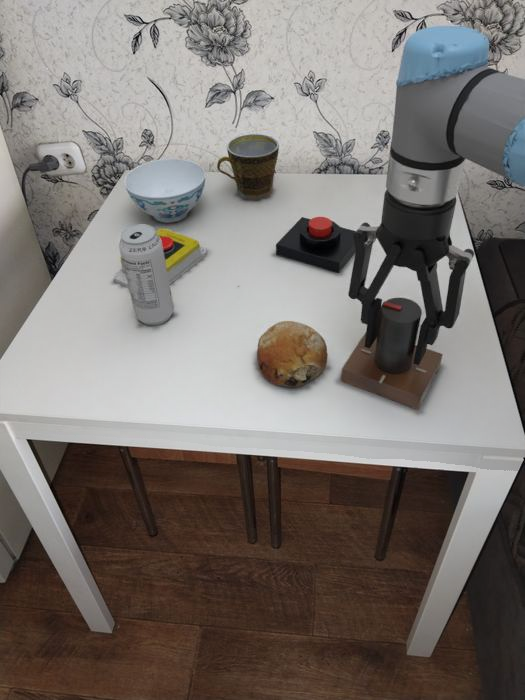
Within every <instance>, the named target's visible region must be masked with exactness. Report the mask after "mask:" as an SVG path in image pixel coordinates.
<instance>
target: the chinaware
mask: <svg viewBox="0 0 525 700" xmlns="http://www.w3.org/2000/svg"><path fill="white" fill-rule="evenodd" d="M123 184H124V187H125V189H126V193H128V196H129V198H130V199H131V201H132V202H133V203H134V204H135V206H137V208H139V209H140V210H141V211H143V212H144V213H145V214H147V215H150V216H151V217H153V219H155V221H159V222H161V223H176V222H179V221H181V220H183V219H185V218H186V217H187V216H188V213H189V212H190V211H191V210H192V209H193V208H194V207H195V206H196V205H197V204H198V202H199V201H200V199H201V197H202V195H203V192H204V190H205V189H204V188H205V184H206V171H205V168H204V167H202V165H201V164H198V163H197V162H195V161H192V160H189V159H183V158H160V159H154V160H151V161H147V162H144V163H142V164H139V165H138V166H135V167H134V168H132V169H131V170H130V171H128V173H127V174H126V175H125V177H124V180H123Z"/></svg>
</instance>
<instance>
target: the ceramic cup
mask: <svg viewBox="0 0 525 700" xmlns="http://www.w3.org/2000/svg"><path fill="white" fill-rule="evenodd" d="M226 151H227V156H223V157H220V158H219V159H218V161H217V164H216V168H217V170H218V172H219V173H221V174H222V175H225V176H227V177H229V178H230V179H232V180H234V181H235V184H236V185H235V186H236V189H237V194H238V195H239V196H240V197H241V198H242V199H243V200H247V201H261V200H264V199H266V198H269V197H270V196H271V193H272V190H273V186H274V178H275V172H276V165H277V162H278V157H279V151H280V143H279V141H278V140H277V139H276V138H274V137H273V136H270V135H267V134H261V133H260V134H259V133H252V134H244V135H240V136H236V137H234V138H232V139H231V140H229V142H228V143H227V144H226ZM223 162H228V163H229V164H230V167H231V170H232V173H233V175H231V174H230V173H229V172H226V171H224V170H222V169H221V164H222V163H223Z"/></svg>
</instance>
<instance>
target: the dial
mask: <svg viewBox="0 0 525 700" xmlns="http://www.w3.org/2000/svg"><path fill="white" fill-rule="evenodd" d="M422 314H423V311H422V308H421V306H420V305H419V304H418V303H417V302H416V301H414V300H413V299H410V298H406V297H391V298H389V299H387V300H385V301H382V305H381V312H380V320H379V327H378V335H377V342H376V350H375V357H374V361H375V364H376V366H377V367H378V368H379V369H381V370H382V371H384V372H386V373H390V374H400V373H403V372H406V371H407V370H408V369H409V368H410V367H411V365H412V360H413V355H414V350H415V345H417V340H418V335H419V330H420V325H421V324H420V323H421V318H422Z"/></svg>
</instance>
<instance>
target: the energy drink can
mask: <svg viewBox="0 0 525 700" xmlns="http://www.w3.org/2000/svg"><path fill="white" fill-rule="evenodd" d="M156 232H157V231H156V229H155V228H154V227H153V226H152V225H150V224H147V223H146V224H145V223H138V224H132V225H130V226H127V227H126V228H124V229H123V230H122V231H121V233H120V241H119V243H118V249H119V253H120V259H121V258H122V262H123V266H124V270H125V274H126V278H127V282H128V286H129V288H128V290H129V294H130V298H131V301H132V302H131V303H132V307H133V311H134V314H135V317H136V319H138V320H139V321H140V322H141V323H143V324H144V325H147V326H160V325H162V324H164V323H166V322H167V321H168V320H169V319H170V318H171V316H172V314H173V313H174V309H175V308H174V301H173V296H172V290H171V284H169V279H168V273H167V268H166V262H165V257H164V251H163V246H162V240H161V238H160V237H159V236H158V234H157V233H156Z"/></svg>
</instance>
